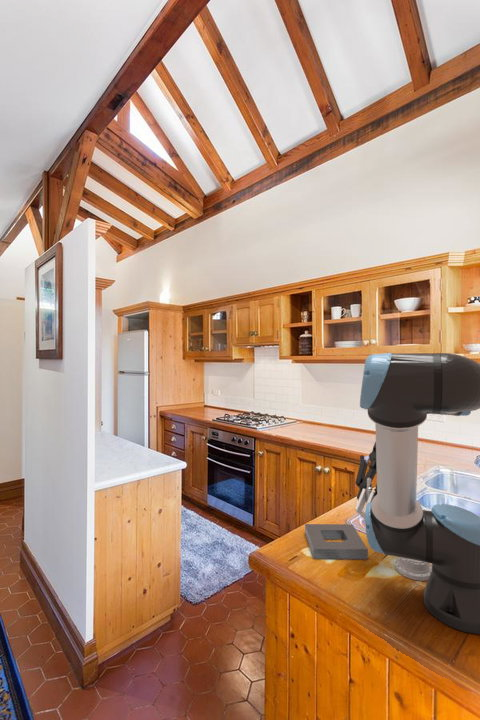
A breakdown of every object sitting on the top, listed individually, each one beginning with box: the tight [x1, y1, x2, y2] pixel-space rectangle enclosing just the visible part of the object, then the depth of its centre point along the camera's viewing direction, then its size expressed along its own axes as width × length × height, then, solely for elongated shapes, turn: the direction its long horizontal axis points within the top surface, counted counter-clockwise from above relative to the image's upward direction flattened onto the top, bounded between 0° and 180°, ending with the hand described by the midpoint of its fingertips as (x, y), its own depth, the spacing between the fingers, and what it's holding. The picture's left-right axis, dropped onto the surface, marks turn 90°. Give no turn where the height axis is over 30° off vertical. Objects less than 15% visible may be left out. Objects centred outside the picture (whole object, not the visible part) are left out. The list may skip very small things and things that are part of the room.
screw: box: [359, 478, 374, 523], centre depth 105 cm, size 13×5×5 cm
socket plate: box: [304, 523, 369, 560], centre depth 117 cm, size 16×16×3 cm
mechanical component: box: [394, 557, 432, 582], centre depth 103 cm, size 10×4×10 cm
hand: (362, 513), depth 102 cm, fingers closed on screw, 2 cm apart
